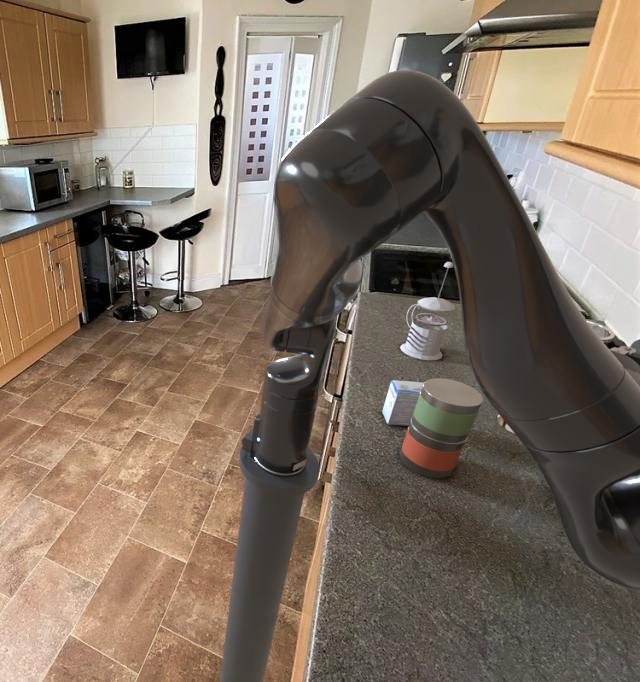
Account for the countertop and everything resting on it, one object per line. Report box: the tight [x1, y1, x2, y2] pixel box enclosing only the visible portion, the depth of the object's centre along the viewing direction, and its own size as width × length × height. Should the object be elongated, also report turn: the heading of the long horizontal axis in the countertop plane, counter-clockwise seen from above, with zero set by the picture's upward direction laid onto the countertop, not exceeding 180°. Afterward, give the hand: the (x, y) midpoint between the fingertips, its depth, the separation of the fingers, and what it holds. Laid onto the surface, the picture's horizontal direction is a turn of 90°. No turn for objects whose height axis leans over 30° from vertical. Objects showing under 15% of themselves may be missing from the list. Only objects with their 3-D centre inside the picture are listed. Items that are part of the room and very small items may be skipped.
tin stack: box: [399, 377, 484, 479], centre depth 77 cm, size 9×9×16 cm
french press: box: [399, 261, 456, 361], centre depth 112 cm, size 10×12×25 cm
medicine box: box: [382, 379, 424, 427], centre depth 89 cm, size 8×4×9 cm, turn 77°
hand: (563, 334), depth 53 cm, fingers closed on beer glass, 7 cm apart
